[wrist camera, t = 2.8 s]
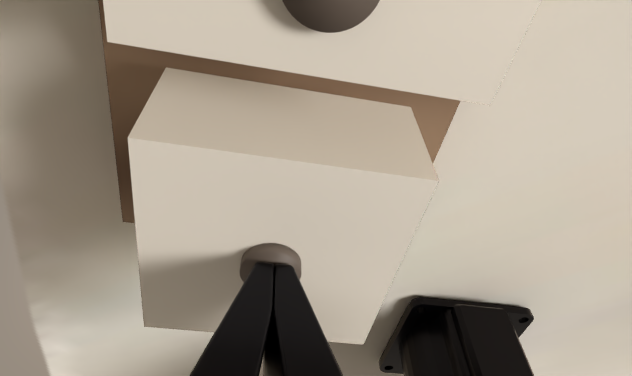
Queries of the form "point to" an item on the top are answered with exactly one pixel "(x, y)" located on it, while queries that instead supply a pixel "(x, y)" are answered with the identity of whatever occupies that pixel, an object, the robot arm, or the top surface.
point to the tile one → (272, 198)
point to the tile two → (341, 38)
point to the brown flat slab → (148, 66)
